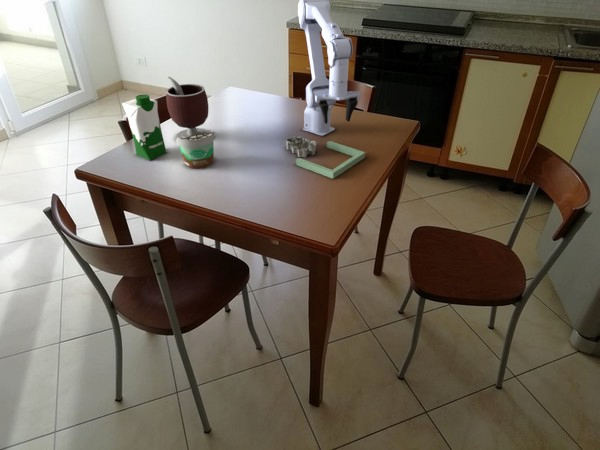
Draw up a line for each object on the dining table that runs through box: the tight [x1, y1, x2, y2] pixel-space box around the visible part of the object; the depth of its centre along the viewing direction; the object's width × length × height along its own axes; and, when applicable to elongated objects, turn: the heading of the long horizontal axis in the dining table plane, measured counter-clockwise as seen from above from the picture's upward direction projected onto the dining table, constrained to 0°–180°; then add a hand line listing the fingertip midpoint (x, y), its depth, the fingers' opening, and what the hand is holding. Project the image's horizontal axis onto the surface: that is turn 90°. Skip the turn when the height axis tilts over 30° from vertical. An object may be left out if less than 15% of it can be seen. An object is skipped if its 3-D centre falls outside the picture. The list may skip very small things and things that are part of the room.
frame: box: [295, 140, 366, 180], centre depth 137 cm, size 14×18×2 cm
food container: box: [175, 129, 216, 170], centre depth 133 cm, size 12×6×10 cm, turn 117°
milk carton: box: [121, 94, 167, 161], centre depth 137 cm, size 9×9×20 cm
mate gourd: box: [165, 76, 211, 140], centre depth 149 cm, size 16×14×20 cm
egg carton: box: [284, 135, 318, 158], centre depth 143 cm, size 11×8×4 cm
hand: (336, 121), depth 140 cm, fingers open, 7 cm apart
